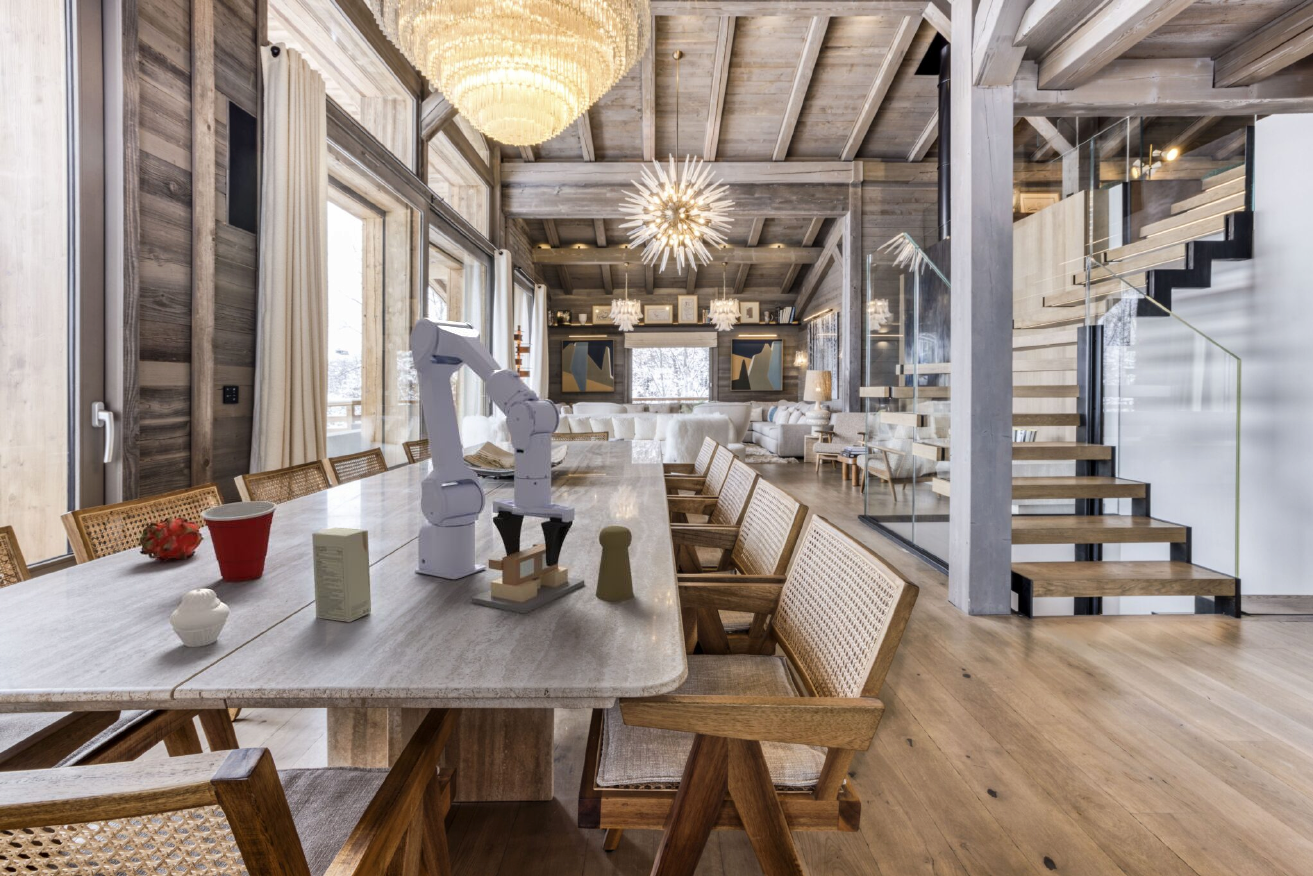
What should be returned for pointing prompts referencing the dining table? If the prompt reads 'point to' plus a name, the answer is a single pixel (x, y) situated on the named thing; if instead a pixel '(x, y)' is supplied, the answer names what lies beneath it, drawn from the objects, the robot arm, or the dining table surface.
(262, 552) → the plastic cup
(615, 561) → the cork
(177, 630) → the muffin
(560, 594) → the gray tray with blocks
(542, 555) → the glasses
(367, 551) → the skincare box
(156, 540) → the dragon fruit
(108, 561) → the dining table surface
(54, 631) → the dining table surface
